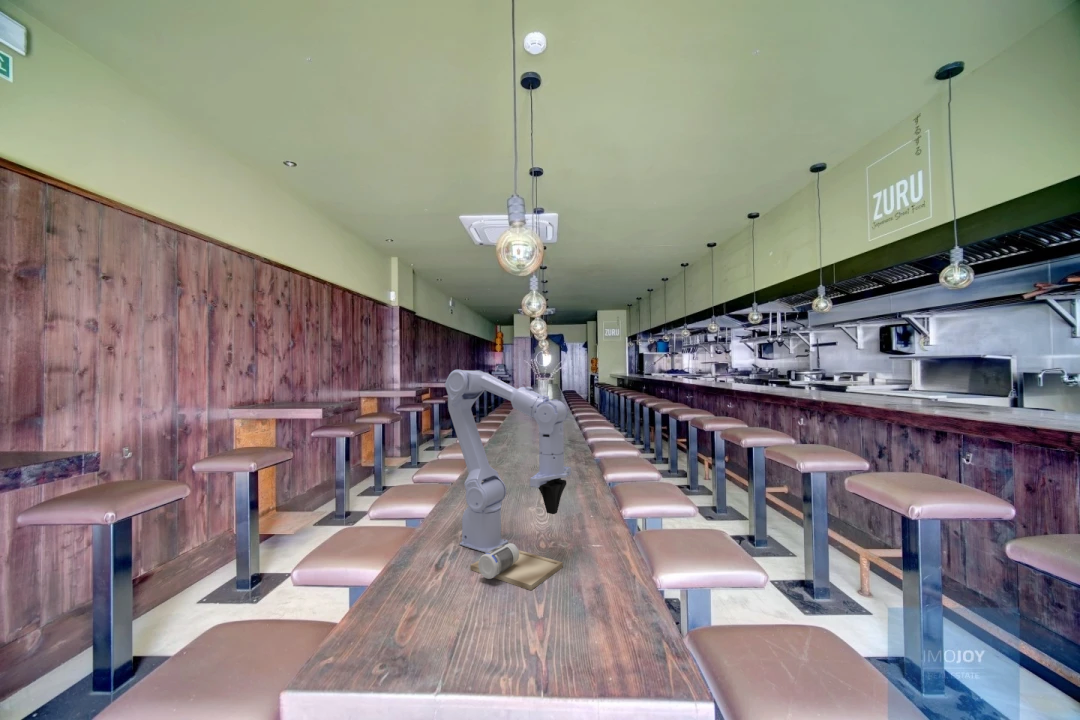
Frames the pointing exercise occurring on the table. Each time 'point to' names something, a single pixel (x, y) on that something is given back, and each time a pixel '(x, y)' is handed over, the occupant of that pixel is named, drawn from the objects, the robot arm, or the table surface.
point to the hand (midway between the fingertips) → (551, 512)
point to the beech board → (527, 570)
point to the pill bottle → (498, 560)
